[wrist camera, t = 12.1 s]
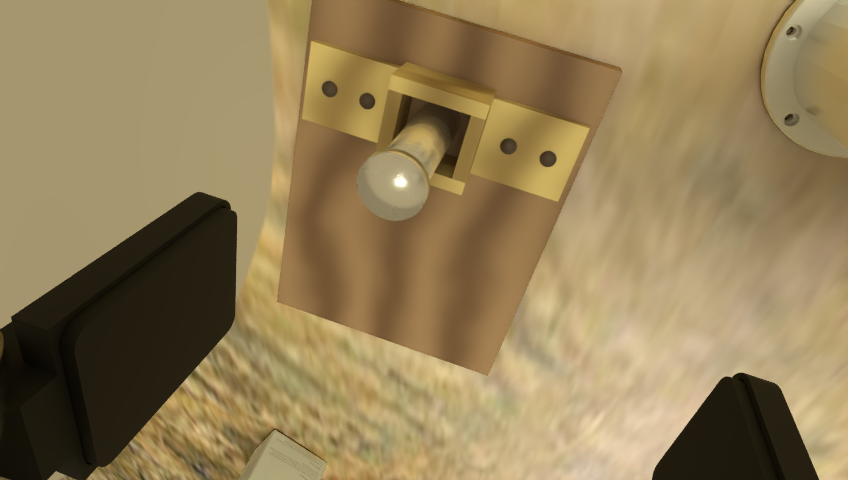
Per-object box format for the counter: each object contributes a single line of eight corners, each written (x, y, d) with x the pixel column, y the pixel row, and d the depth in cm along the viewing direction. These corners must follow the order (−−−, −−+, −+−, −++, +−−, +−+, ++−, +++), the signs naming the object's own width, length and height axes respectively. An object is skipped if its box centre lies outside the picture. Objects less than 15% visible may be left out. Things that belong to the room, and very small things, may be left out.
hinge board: (620, 68, 37) (627, 87, 32) (489, 367, 53) (482, 406, 48) (321, -24, 38) (289, -17, 34) (282, 294, 54) (257, 327, 50)
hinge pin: (472, 101, 39) (434, 166, 28) (458, 151, 41) (417, 229, 30) (420, 86, 39) (362, 144, 28) (409, 136, 41) (351, 208, 30)
